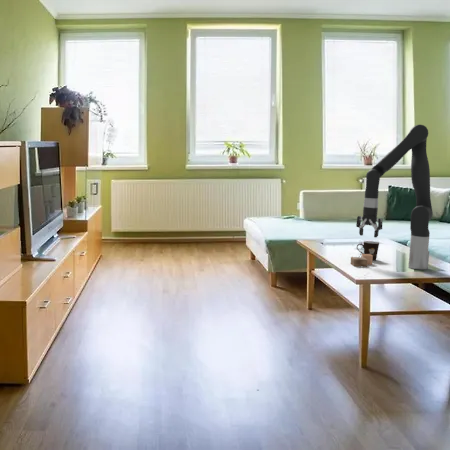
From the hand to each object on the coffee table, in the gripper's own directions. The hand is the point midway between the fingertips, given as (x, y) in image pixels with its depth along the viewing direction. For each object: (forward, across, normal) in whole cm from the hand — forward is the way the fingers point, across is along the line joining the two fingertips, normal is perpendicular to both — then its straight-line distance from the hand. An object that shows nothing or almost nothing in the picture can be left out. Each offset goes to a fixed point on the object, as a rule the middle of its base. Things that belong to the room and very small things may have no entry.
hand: (368, 236), depth 301 cm
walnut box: (+15, 0, +9) cm, 18 cm away
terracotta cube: (+15, 0, 0) cm, 15 cm away
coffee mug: (+15, +6, -13) cm, 21 cm away
